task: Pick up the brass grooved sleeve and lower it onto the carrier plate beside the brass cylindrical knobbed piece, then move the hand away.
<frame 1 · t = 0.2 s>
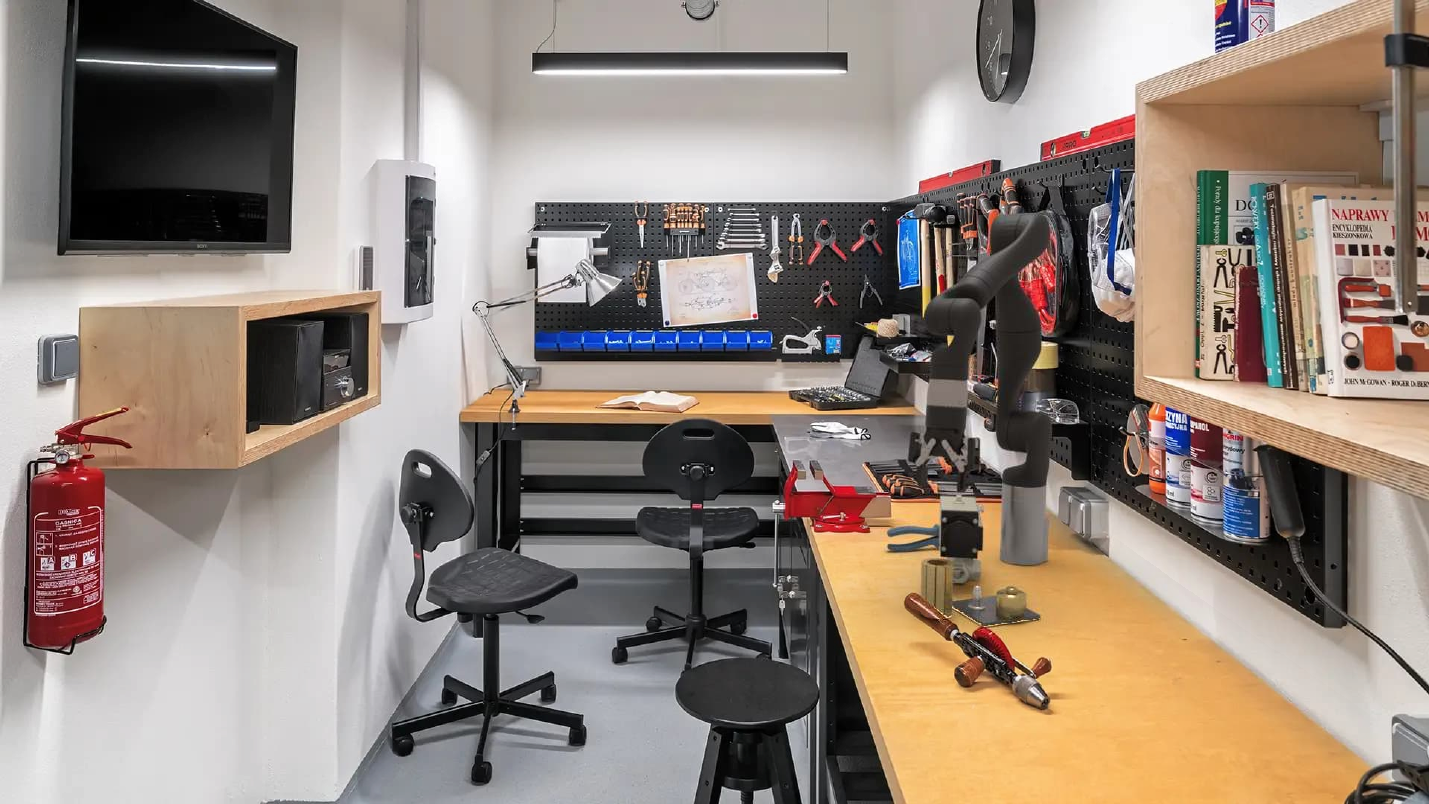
hand: (941, 489, 179), 22 cm above the table, tool pointing down, fingers open, 8 cm apart
pliers: (928, 550, 216), on the table
carrier plate: (992, 612, 176), on the table
brass cylindrical knobbed piece: (1010, 618, 172), resting on carrier plate
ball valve: (960, 580, 195), on the table
brass grooved sleeve: (936, 614, 175), on the table
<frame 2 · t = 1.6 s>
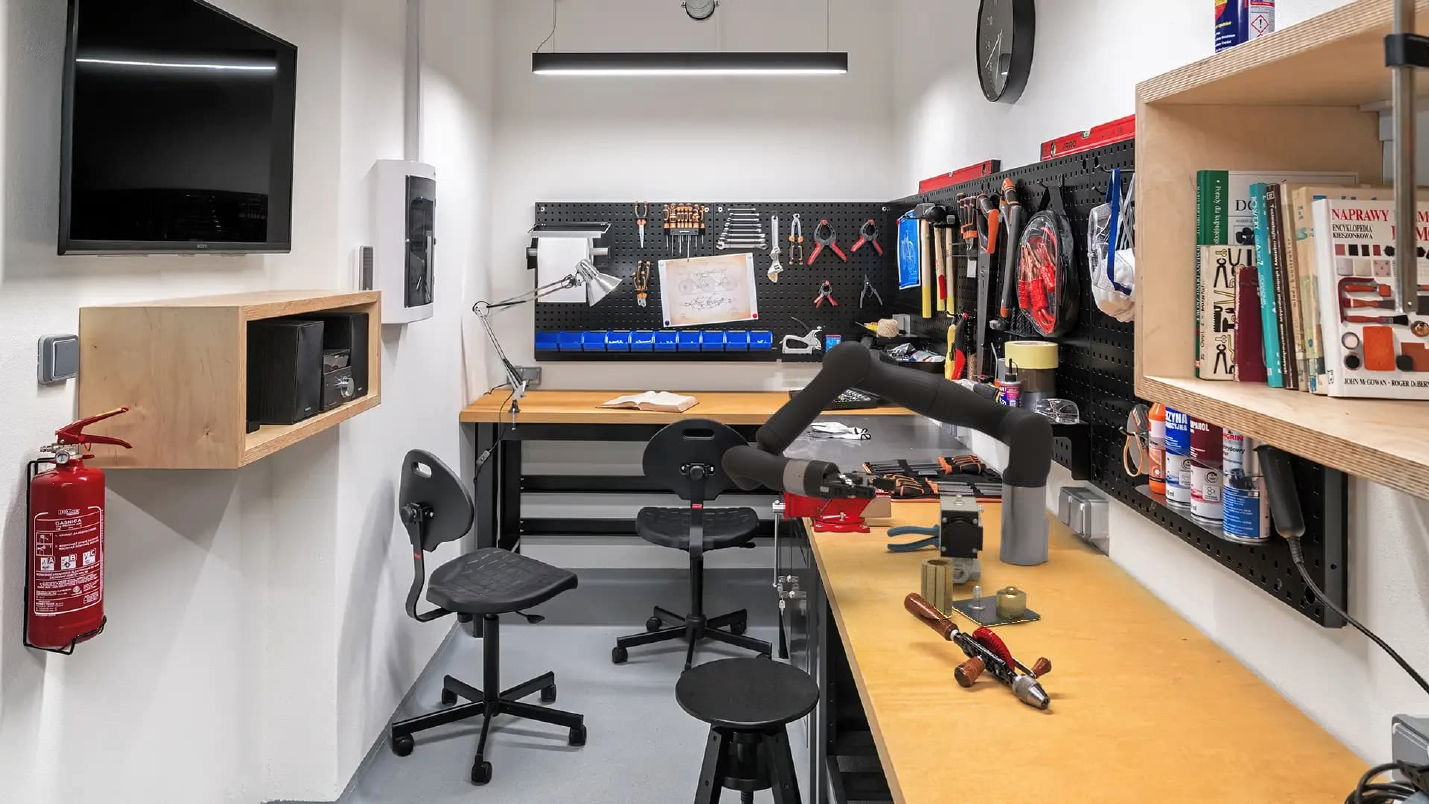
hand: (885, 489, 178), 22 cm above the table, tool horizontal, fingers open, 8 cm apart
nothing on the table moved.
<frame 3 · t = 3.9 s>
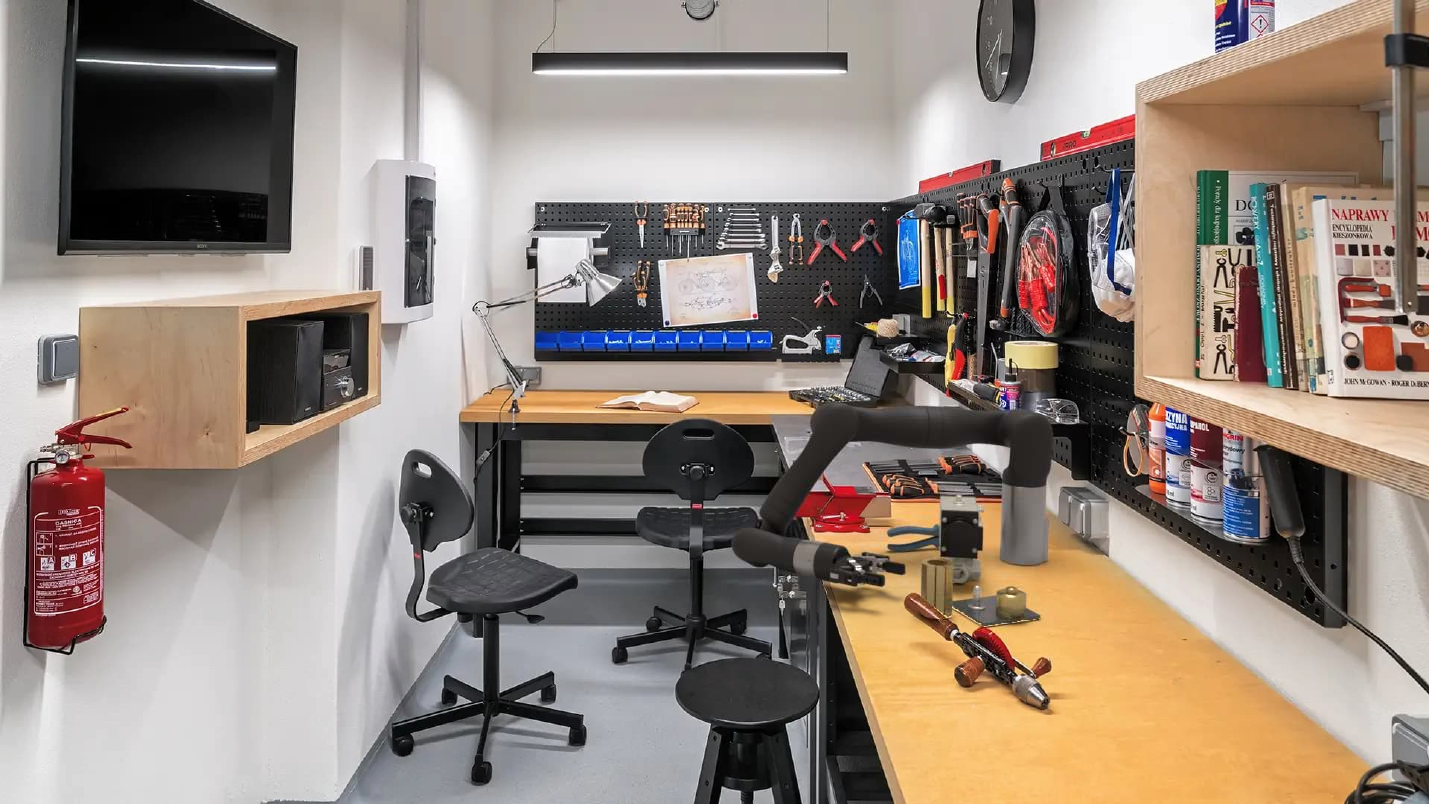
hand: (894, 575, 179), 6 cm above the table, tool horizontal, fingers open, 8 cm apart
nothing on the table moved.
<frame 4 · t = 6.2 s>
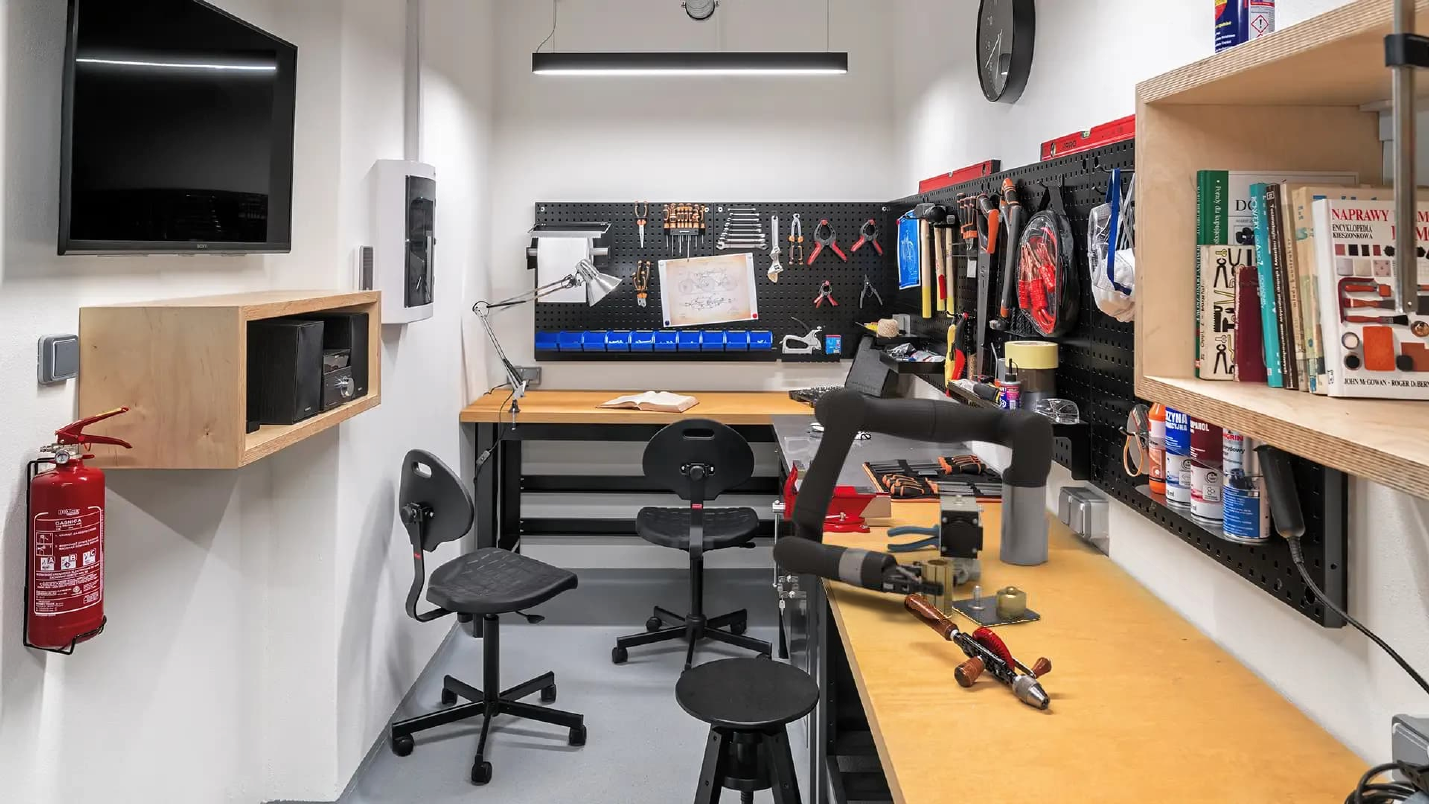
hand: (949, 586, 173), 6 cm above the table, tool horizontal, fingers closed on brass grooved sleeve, 5 cm apart
brass grooved sleeve: (936, 614, 175), on the table, touching gripper
everything else where it was.
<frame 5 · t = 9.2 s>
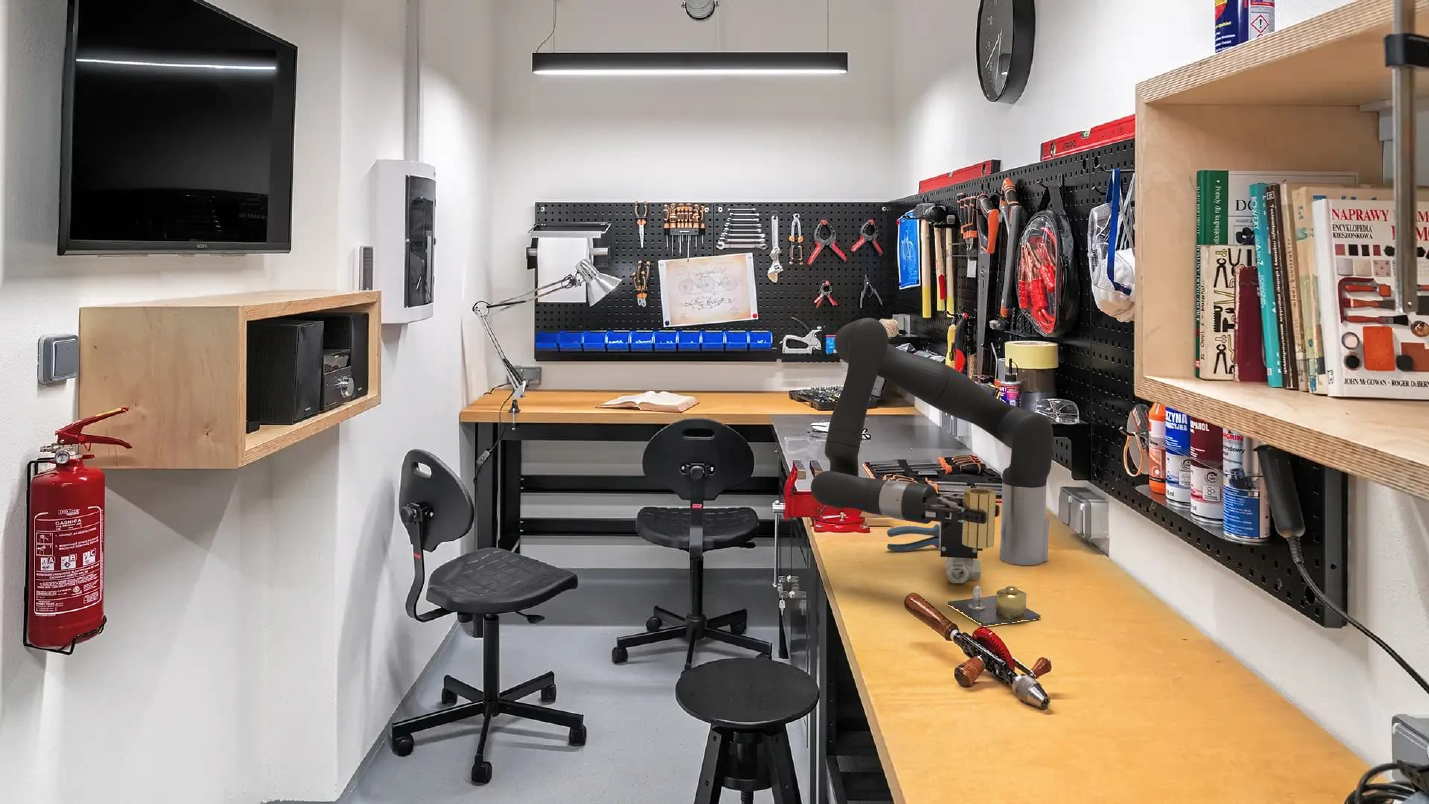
hand: (992, 514, 172), 19 cm above the table, tool horizontal, fingers closed on brass grooved sleeve, 5 cm apart
brass grooved sleeve: (978, 544, 175), point 13 cm above the table, touching gripper
everything else where it was.
when the fingers open (8 cm above the table, at t = 12.0 s): brass grooved sleeve drops 1 cm, resting on carrier plate.
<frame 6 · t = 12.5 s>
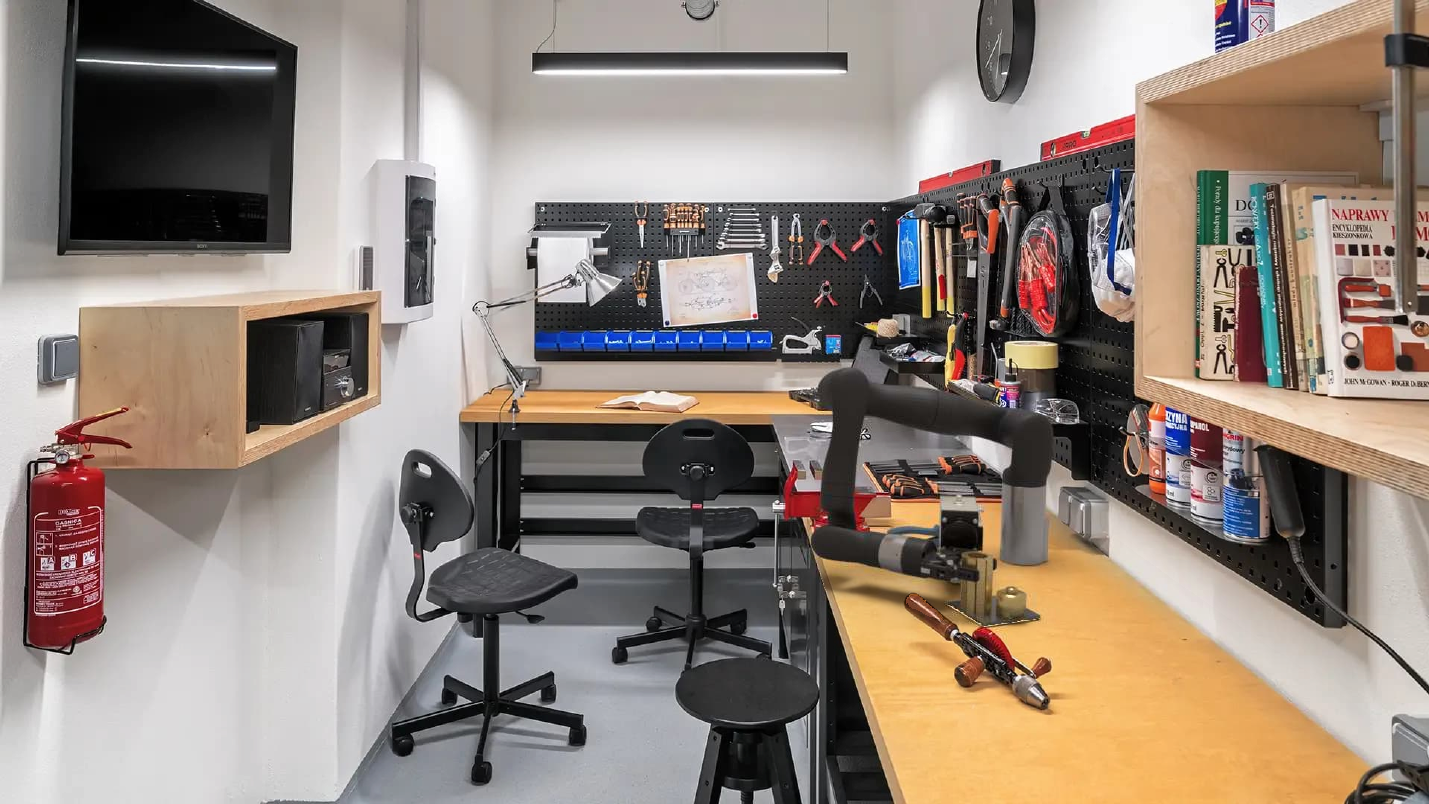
hand: (987, 570, 174), 8 cm above the table, tool horizontal, fingers open, 8 cm apart
brass grooved sleeve: (976, 607, 176), point 1 cm above the table, touching carrier plate
everything else where it was.
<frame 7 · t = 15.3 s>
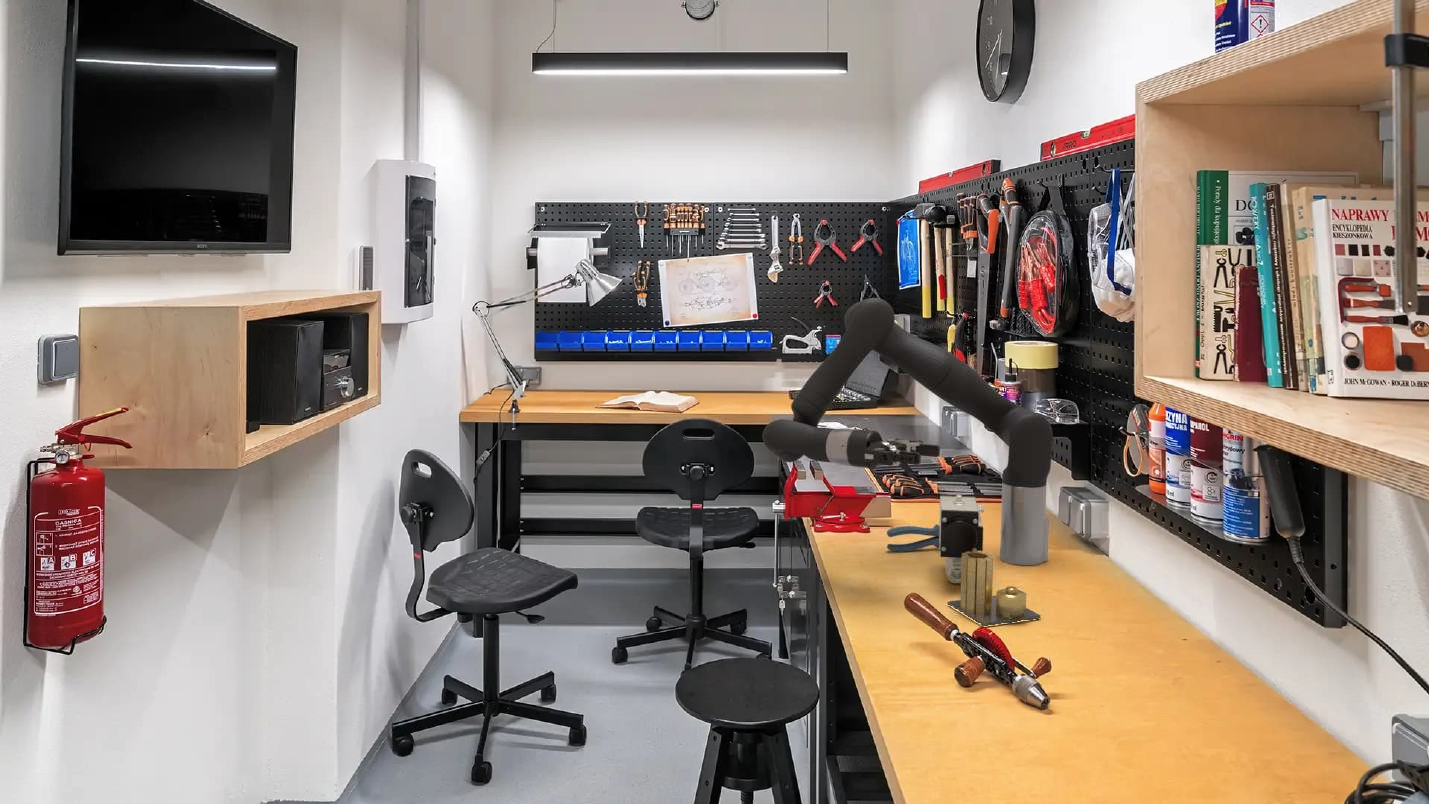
hand: (929, 455, 178), 29 cm above the table, tool horizontal, fingers open, 8 cm apart
nothing on the table moved.
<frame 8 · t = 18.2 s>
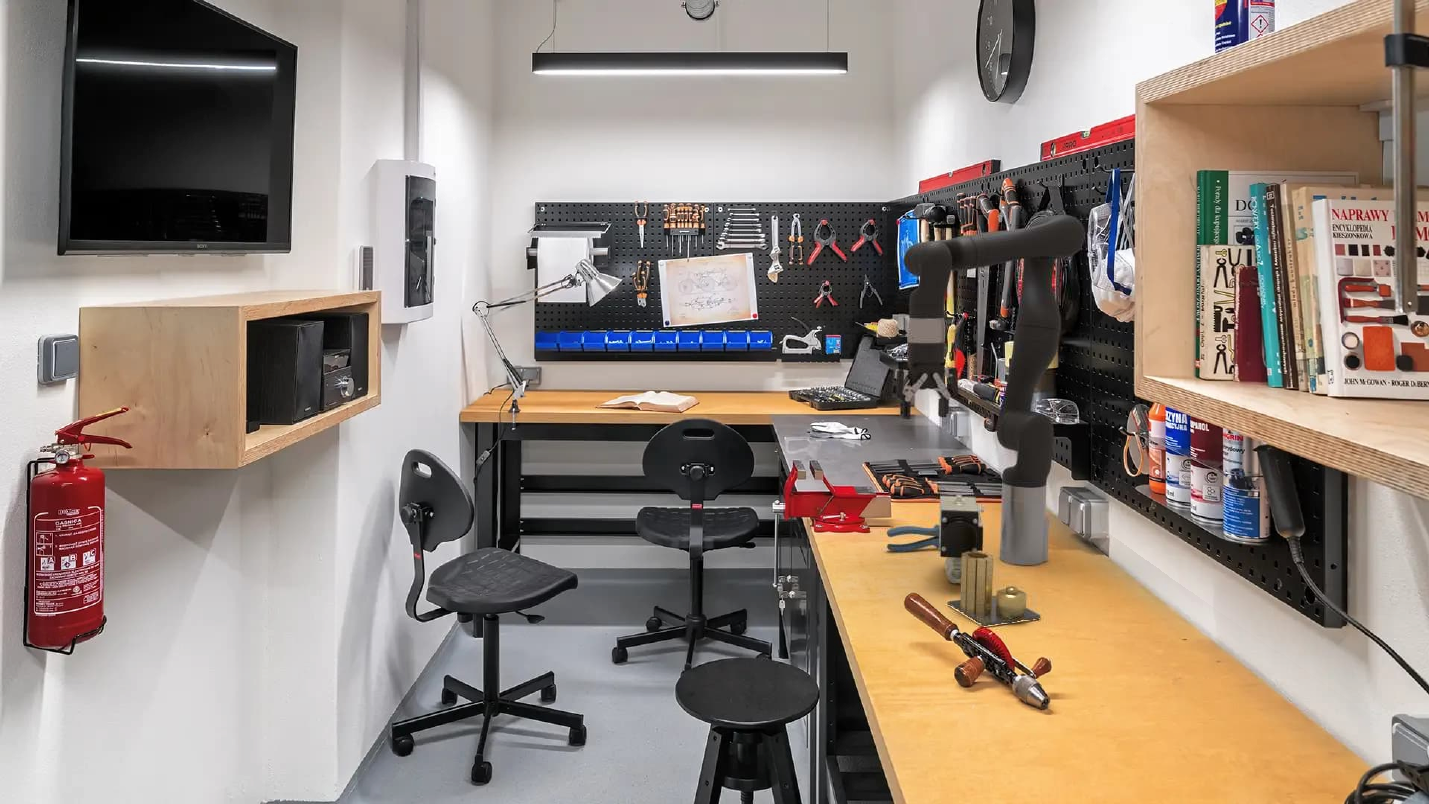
hand: (924, 417, 196), 33 cm above the table, tool pointing down, fingers open, 8 cm apart
nothing on the table moved.
at the end: brass grooved sleeve 0.1 cm from the target spot on the carrier plate, point 0.8 cm above the carrier plate's base; brass grooved sleeve tilted 0°; the gripper is holding nothing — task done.
